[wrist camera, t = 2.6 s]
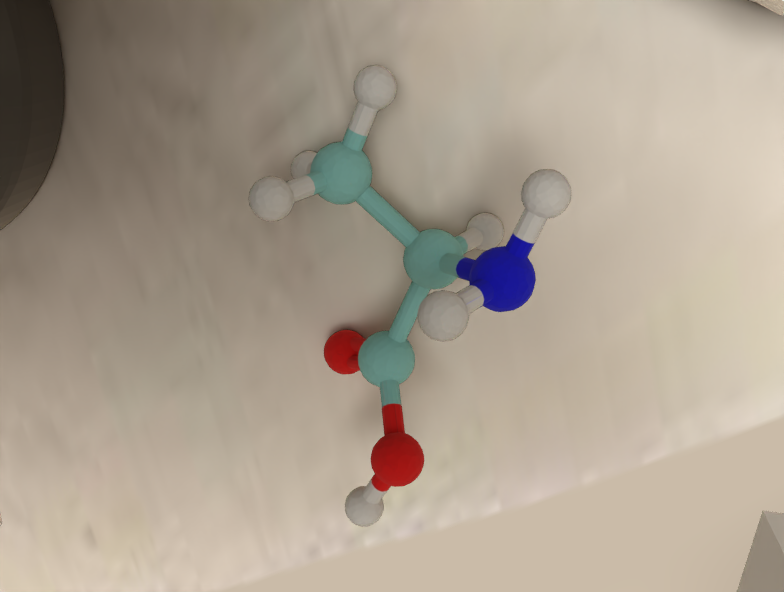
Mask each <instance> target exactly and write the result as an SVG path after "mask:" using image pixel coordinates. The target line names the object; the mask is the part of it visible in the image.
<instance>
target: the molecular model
mask: <svg viewBox="0 0 784 592" xmlns="http://www.w3.org/2000/svg"><path fill="white" fill-rule="evenodd" d="M396 91H397V84H396V81H395V78H394V76H393V75H392V73H391V72H390V71H389V70H388V69H386V68H385V67H383V66H379V65H373V66H367V67H366V68H364V69H363V70H361V71H360V72H359V74H358V75H357V77H356V79H355V81H354V93H355V96H356V98H357V100H358V103H357V106H356V108H355V111H354V113H353V116H352V118H351V121H350V123H349V126H348V128H347V131H346V134H345V136H344V139H343V141H342V142H336V143H332V144H328V145H327V146H325V147H323V148H322V149H321V150H320V151H319V152H318V153H316V152H314V151H305V152H302V153H300V154H299V155H297V156H296V157H295V159H294V160H293V162H292V164H291V175H292V177H293V179H292V180H289V181H286V182H285V181H284V180H283V179H281V178H278V177H275V176H268V177H264V178H262V179H260V180H259V181H257V182H255V183H254V185H253V187H252V188H251V190H250V194H249V205H250V207H251V209H252V210H253V212H254V214H255V215H256V216H258V217H259V218H261V219H263V220H266V221H279V220H281V219H282V218H284V217H286V216H287V215H288V214H289V213H290V211H291V209H292V207H293V205H294V202H297V201H299V200H302V199H304V198H307V197H310V196H312V195H315V194H319V195H320V196H321V197H322V198H323V199H325V200H326V201H329V202H331V203H334V204H349V203H352V202H355V201H356V202H357V203H358V204H359V205H361V206H362V207H363V208H364V209H365V210H366V211H367V212H368V213H369V214H370V215H371V216H372V217H373V218H375V219H376V220H377V221H378V222H379V223H380V224H381V225H382V226H384V227H385V228H386V229H387V230H388V231H389V232H390V233H391V234H392V235H393V236H394V237H395V238H396V239H398V240H399V241H400V242H401V243H402V244H403V245H404V246H405V247H406V248H405V251H404V257H403V262H404V267H405V270H406V273H407V274H408V276H409V278H410V279H411V280H412V282H411V285H410V287H409V289H408V291H407V293H406V295H405V298H404V300H403V302H402V304H401V306H400V308H399V310H398V313H397V315H396V317H395V319H394V321H393V323H392V326H391V328H390V330H389V331H380V332H377V333H375V334H373V335H371V336H369V337H368V338H367V339H365V338H363V337H362V336H361V335H360V334H358V333H357V332H354V331H351V330H342V331H338V332H336V333H334V334H333V335H332V336H331V337H330V338H329V339H328V340H327V342H326V344H325V347H324V357H325V360H326V362H327V364H328V365H329V367H330V368H331V369H332V370H333V371H335V372H337V373H340V374H352V373H355V372H357V371H359V370H360V371H361V372H362V374H363V376H364V377H365V378H366V379H367V381H368V382H370V383H372V384H374V385H376V386H378V387H380V392H381V402H382V415H383V425H384V434H385V436H384V437H382V438H381V439H380V440H379V441H378V442H377V443H376V444H375V446H374V447H373V450H372V454H371V465H372V469H373V471H374V472H375V475H374V476H373V477H372V479H371V480H370V482H369V483H368V485H367V486H360V487H358V488H356V489H354V490H353V491H352V492H350V494H349V495H348V496H347V498H346V502H345V512H346V515H347V517H348V518H349V519H350V520H351V522H352V523H354V524H356V525H359V526H370V525H372V524H374V523H375V522H377V521H378V520H379V518H380V517H381V515H382V513H383V509H384V504H383V499H382V498H383V496H384V495H385V493H386V492H387V491H388V489H389V488H390V486H394V487H396V486H405V485H407V484H410V483H411V482H413V481H414V480H415V479H416V478H417V477H418V476H419V474H420V473H421V471H422V468H423V465H424V454H423V451H422V449H421V447H420V445H419V443H418V442H417V441H416V440H415V439H414V438H413V437H411V436H410V435H408V434H405V431H404V422H403V413H402V406H401V399H400V390H399V384H401V383H403V382H404V381H405V380H406V379H407V378H408V377H409V376H410V374H411V373H412V371H413V368H414V364H415V354H414V351H413V348H412V346H411V344H410V343H409V341H408V340H407V337H408V335H409V332H410V330H411V328H412V326H413V324H414V322H415V320H416V318H417V316H418V322H419V325H420V327H421V329H422V331H423V332H424V333H425V334H426V335H427V336H428V337H430V338H431V339H434V340H438V341H449V340H453V339H455V338H456V337H458V336H459V335H460V334H461V333H462V332H463V331H464V330H465V328H466V326H467V324H468V319H469V314H470V313H472V312H473V311H475V310H476V309H478V308H479V307H481V306H484V307H486V308H488V309H490V310H493V311H496V312H504V311H511V310H515V309H517V308H519V307H520V306H522V305H523V304H524V303H525V302H526V301H528V299H529V298H530V296H531V295H532V292H533V289H534V285H535V281H536V279H535V271H534V268H533V265H532V264H531V262H530V260H529V259H528V258H527V257H528V255H529V253H530V251H531V249H532V247H533V245H534V243H535V241H536V240H537V238H538V236H539V234H540V232H541V230H542V228H543V226H544V224H545V222H546V220H547V219H548V218H554V217H556V216H558V215H560V214H561V213H562V212H563V211H564V210H565V209H566V208H567V206H568V205H569V203H570V200H571V187H570V185H569V182H568V180H567V179H566V177H565V176H564V175H562V174H561V173H559V172H557V171H555V170H552V169H543V170H538V171H536V172H535V173H533V174H531V175H530V176H529V177H528V178H527V179H526V181H525V182H524V184H523V187H522V192H521V197H522V202H523V205H524V206H525V210H524V212H523V214H522V216H521V218H520V220H519V222H518V224H517V226H516V228H515V230H514V232H513V234H512V236H511V238H510V240H509V241H508V243H507V245H506V247H505V246H503V247H496V246H497V245H498V244H499V243H500V242H501V241H502V238H503V235H504V228H503V224H502V222H501V221H500V219H499V218H497V217H496V216H495V215H493V214H490V213H480V214H478V215H476V216H474V217H473V218H472V219H471V220H470V221H469V223H468V225H467V229H466V231H465V232H463V233H461V234H459V235H458V236H456V237H454V236H452V235H451V234H450V233H448V232H445V231H443V230H440V229H427V230H424V231H421V232H419V231H418V230H417V229H416V228H415V227H413V226H412V225H411V224H410V223H409V222H408V221H407V220H406V219H405V218H404V217H403V216H402V215H401V214H400V213H398V212H397V211H396V210H395V209H394V208H393V207H392V206H391V205H390V204H389V203H388V202H387V201H386V200H385V199H383V198H382V197H381V196H380V195H379V194H378V193H377V192H376V191H375V190H374V189H373V188H372V187H371V186H370V183H371V180H372V167H371V164H370V161H369V159H368V157H367V156H366V154H365V153H364V152H363V151H362V149H363V146H364V144H365V141H366V139H367V136H368V134H369V131H370V129H371V126H372V124H373V121H374V119H375V116H376V114H377V112H378V110H380V109H383V108H385V107H386V106H388V105H389V104H391V102H392V101H393V99H394V98H395V95H396ZM474 248H476V249H479V250H487V251H485V252H483V253H482V254H481V255H480V256H479V257H478V258H477V259H476V260H473V259H469V258H466V257H463V254H465V253H467V252H468V251H470V250H472V249H474ZM457 277H458V278H462V279H465V280H468V281H469V282H470V285H469V286H467V287H465V288H464V289H462V290H461V291H459V292H457V293H454V292H451V291H445V290H441V291H435V292H433V293H431V294H429V295H428V293H429V291H430V289H440V288H444V287H446V286H448V285H450V284H451V283H452V282H453V281H454V280H455V279H456V278H457ZM427 295H428V296H427Z"/></svg>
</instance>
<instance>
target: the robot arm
mask: <svg viewBox="0 0 784 592" xmlns="http://www.w3.org/2000/svg"><path fill="white" fill-rule="evenodd" d="M63 102H64V77H63V63H62V56H61V49H60V43H59V38H58V33H57V28H56V24H55V20H54V16H53V13H52V9H51V6H50V3H49V0H0V230H1V229H2V228H3V227H5V226H6V225H8V224H9V223H10V222H11V221H12V220H13V219H14V218H15V217H17V216H18V214H19V213H20V212H21V211H22V210H23V209H24V208H25V207H26V206H27V204H28V203H29V202H30V200H31V199H32V198H33V197H34V195H35V193H36V192H37V190H38V189H39V187H40V186H41V184H42V182H43V180H44V178H45V176H46V174H47V172H48V169H49V167H50V164H51V162H52V159H53V156H54V153H55V150H56V147H57V143H58V139H59V134H60V129H61V122H62V115H63ZM1 524H2V519H1V513H0V525H1ZM737 592H784V514H783V513H777V512H769V511H762V515H761V518H760V521H759V524H758V527H757V530H756V533H755V537H754V540H753V543H752V546H751V549H750V552H749V555H748V558H747V562H746V565H745V568H744V571H743V574H742V577H741V580H740V583H739V587H738V590H737Z"/></svg>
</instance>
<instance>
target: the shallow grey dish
mask: <svg viewBox="0 0 784 592" xmlns="http://www.w3.org/2000/svg"><path fill="white" fill-rule="evenodd" d="M748 1H752V2H755V3H758V4H760V5H762V6H764V7H766V8H767V9H769V10H771V11H773V12H775V13H776V14H778V15H784V0H748Z"/></svg>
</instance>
